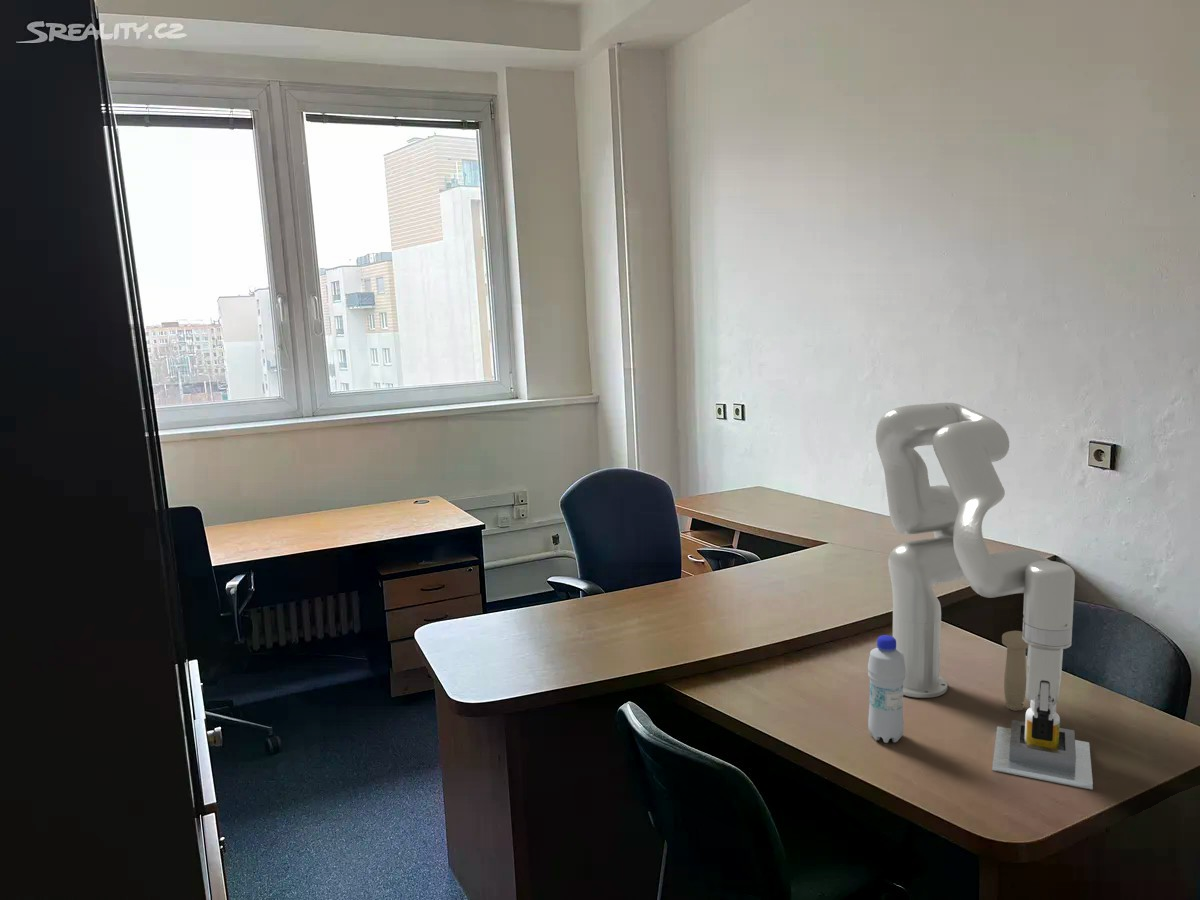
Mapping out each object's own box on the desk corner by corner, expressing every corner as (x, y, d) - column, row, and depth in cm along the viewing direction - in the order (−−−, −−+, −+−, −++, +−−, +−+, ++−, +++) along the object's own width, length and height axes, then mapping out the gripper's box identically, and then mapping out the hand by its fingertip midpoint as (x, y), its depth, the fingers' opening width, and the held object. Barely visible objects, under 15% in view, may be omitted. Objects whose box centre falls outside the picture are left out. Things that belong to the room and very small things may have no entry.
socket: (992, 770, 145) (993, 748, 145) (997, 731, 158) (997, 711, 158) (1092, 789, 138) (1093, 767, 138) (1088, 747, 151) (1090, 726, 151)
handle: (1033, 706, 167) (1037, 635, 165) (1018, 717, 163) (1021, 644, 161) (1009, 698, 171) (1012, 628, 169) (994, 709, 167) (996, 637, 165)
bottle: (886, 749, 153) (887, 645, 150) (859, 734, 159) (860, 634, 156) (912, 740, 156) (914, 638, 153) (885, 725, 162) (886, 626, 159)
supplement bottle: (1062, 761, 145) (1065, 709, 143) (1028, 759, 146) (1031, 707, 144) (1052, 744, 150) (1055, 694, 148) (1020, 742, 151) (1022, 692, 150)
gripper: (1023, 613, 154) (1019, 706, 157) (1021, 648, 139) (1016, 749, 142) (1070, 619, 150) (1065, 713, 153) (1073, 655, 135) (1067, 758, 138)
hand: (1042, 729), depth 147 cm, fingers open, 5 cm apart
